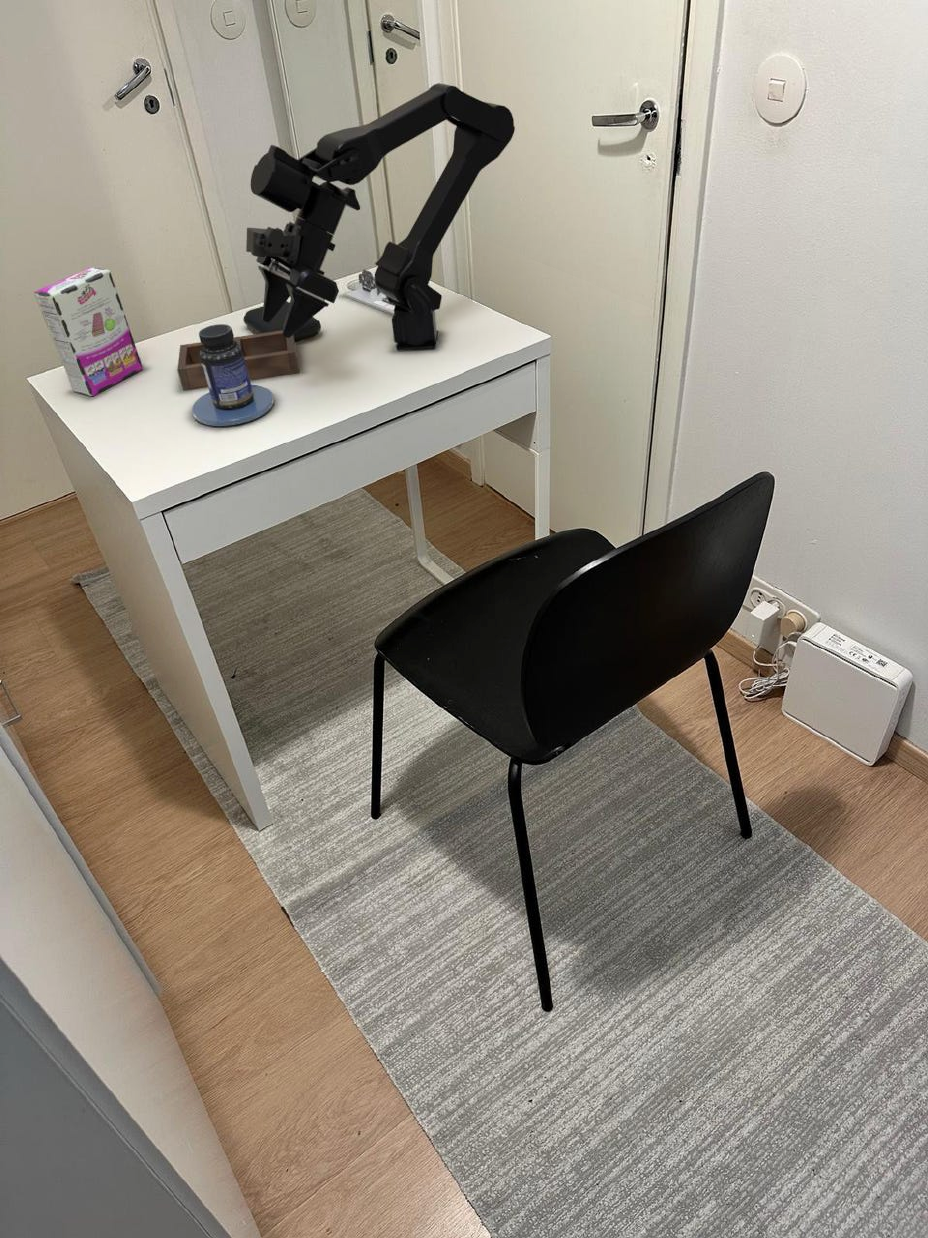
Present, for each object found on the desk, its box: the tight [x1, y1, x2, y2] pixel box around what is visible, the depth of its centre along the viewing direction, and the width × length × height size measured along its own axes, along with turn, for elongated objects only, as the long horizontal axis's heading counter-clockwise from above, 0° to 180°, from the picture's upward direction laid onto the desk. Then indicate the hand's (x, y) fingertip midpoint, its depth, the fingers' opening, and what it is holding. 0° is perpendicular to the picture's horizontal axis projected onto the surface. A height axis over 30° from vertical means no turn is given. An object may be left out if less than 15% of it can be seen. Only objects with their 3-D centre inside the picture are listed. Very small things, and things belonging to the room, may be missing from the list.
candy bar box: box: [33, 266, 144, 397], centre depth 141 cm, size 11×5×16 cm, turn 148°
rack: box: [176, 330, 301, 391], centre depth 145 cm, size 18×10×4 cm, turn 101°
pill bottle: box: [198, 323, 253, 409], centre depth 131 cm, size 6×6×11 cm
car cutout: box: [344, 269, 395, 316], centre depth 163 cm, size 15×7×4 cm, turn 42°
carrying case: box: [242, 300, 322, 344], centre depth 156 cm, size 11×3×15 cm
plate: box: [192, 384, 275, 427], centre depth 135 cm, size 12×12×1 cm
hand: (275, 328), depth 134 cm, fingers open, 9 cm apart
